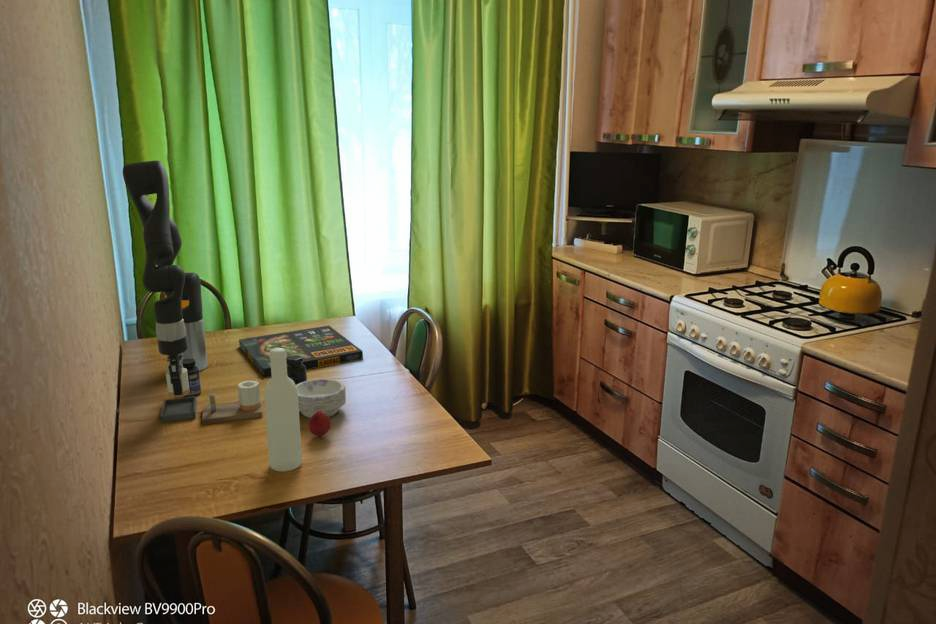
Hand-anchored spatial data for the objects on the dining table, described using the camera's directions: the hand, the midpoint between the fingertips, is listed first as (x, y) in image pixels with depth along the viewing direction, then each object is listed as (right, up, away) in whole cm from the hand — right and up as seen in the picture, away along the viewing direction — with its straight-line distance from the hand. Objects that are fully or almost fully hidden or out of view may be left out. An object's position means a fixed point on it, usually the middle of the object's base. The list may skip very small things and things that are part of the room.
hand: (178, 390), depth 191 cm
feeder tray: (0, -6, +1) cm, 7 cm away
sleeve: (0, -1, 0) cm, 1 cm away
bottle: (+38, -15, -27) cm, 49 cm away
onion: (+44, -11, -13) cm, 47 cm away
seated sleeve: (+20, -5, +2) cm, 21 cm away
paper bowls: (+40, -7, +2) cm, 41 cm away
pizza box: (+22, +7, +51) cm, 56 cm away
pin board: (+15, -7, +1) cm, 17 cm away
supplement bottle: (+30, -3, +15) cm, 34 cm away
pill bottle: (-2, -3, +14) cm, 15 cm away
